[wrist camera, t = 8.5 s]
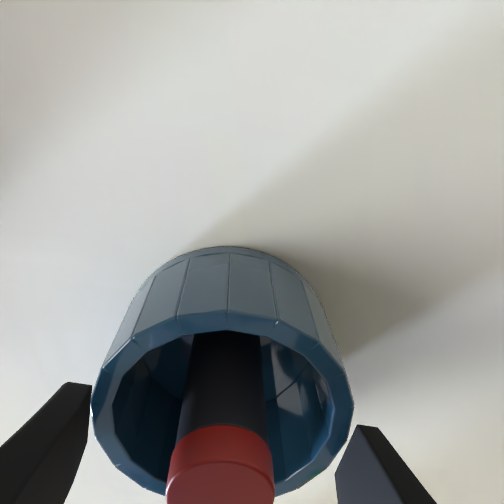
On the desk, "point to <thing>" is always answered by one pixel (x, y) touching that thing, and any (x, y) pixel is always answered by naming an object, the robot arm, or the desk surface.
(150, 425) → the blue bowl
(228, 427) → the marker
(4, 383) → the desk surface
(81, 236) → the desk surface
